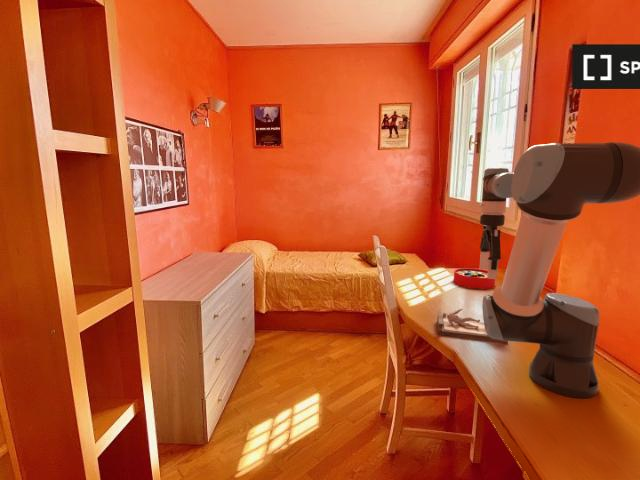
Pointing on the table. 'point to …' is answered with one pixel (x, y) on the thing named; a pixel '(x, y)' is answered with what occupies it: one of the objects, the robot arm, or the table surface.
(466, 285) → the toy clock
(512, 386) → the table surface
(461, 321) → the soldier figure
